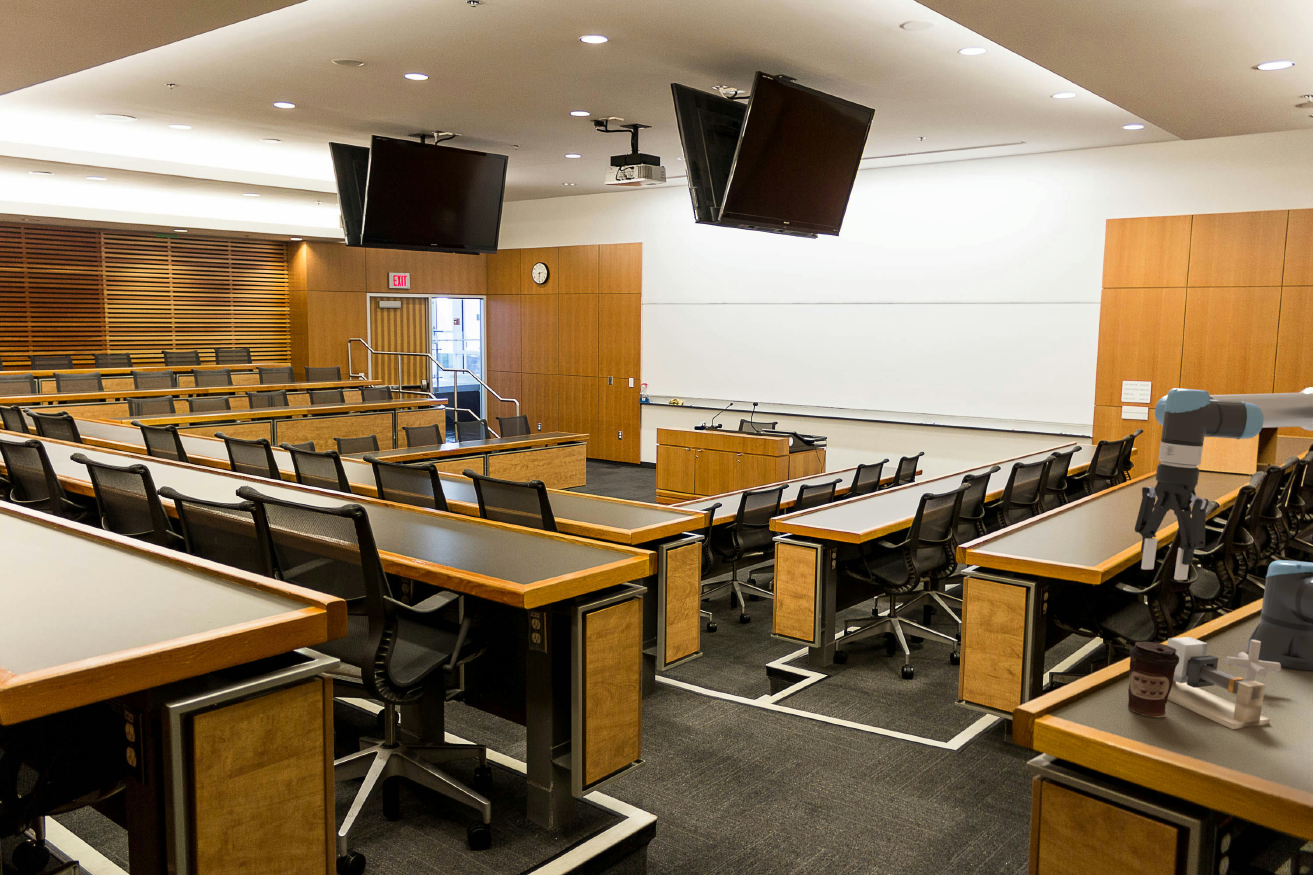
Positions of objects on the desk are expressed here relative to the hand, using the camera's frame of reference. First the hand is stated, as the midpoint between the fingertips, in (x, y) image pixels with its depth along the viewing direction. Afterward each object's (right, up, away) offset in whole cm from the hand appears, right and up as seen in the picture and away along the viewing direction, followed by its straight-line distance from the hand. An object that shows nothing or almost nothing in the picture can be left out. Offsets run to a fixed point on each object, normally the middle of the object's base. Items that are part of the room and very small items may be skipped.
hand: (1163, 573), depth 191 cm
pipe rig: (+3, -25, -9) cm, 26 cm away
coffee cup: (-11, -25, -14) cm, 30 cm away
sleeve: (+1, -20, -5) cm, 21 cm away
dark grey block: (+3, -21, -8) cm, 23 cm away
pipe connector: (+20, -24, +3) cm, 32 cm away
